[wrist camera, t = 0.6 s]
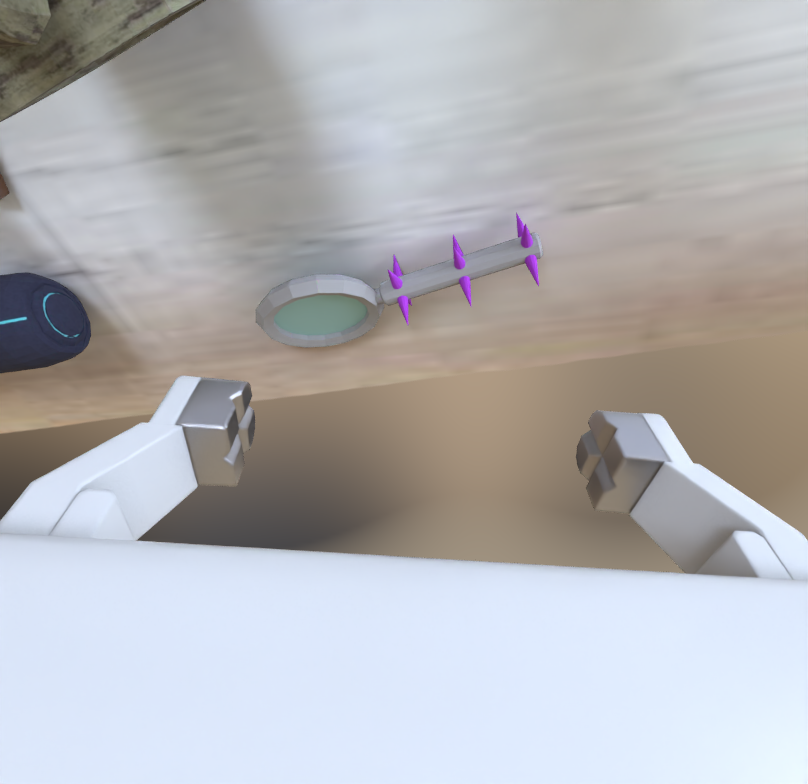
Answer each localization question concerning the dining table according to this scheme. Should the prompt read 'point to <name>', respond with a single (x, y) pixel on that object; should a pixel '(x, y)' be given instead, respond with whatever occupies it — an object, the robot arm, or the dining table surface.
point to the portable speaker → (39, 323)
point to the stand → (3, 188)
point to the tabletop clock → (69, 41)
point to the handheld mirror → (378, 293)
